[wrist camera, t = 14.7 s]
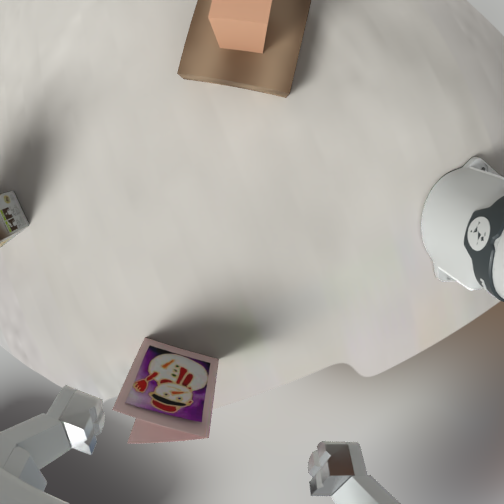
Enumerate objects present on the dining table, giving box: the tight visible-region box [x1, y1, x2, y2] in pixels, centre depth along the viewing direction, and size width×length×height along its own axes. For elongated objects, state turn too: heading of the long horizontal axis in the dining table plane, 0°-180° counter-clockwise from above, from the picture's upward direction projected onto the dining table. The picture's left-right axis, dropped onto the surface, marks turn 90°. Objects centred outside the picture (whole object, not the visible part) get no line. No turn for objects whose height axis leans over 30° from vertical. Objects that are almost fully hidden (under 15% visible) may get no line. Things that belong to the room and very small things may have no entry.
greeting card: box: [113, 338, 219, 444], centre depth 39 cm, size 11×7×15 cm, turn 72°
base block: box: [177, 0, 311, 98], centre depth 29 cm, size 12×12×4 cm
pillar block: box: [208, 0, 272, 54], centre depth 23 cm, size 4×4×10 cm
